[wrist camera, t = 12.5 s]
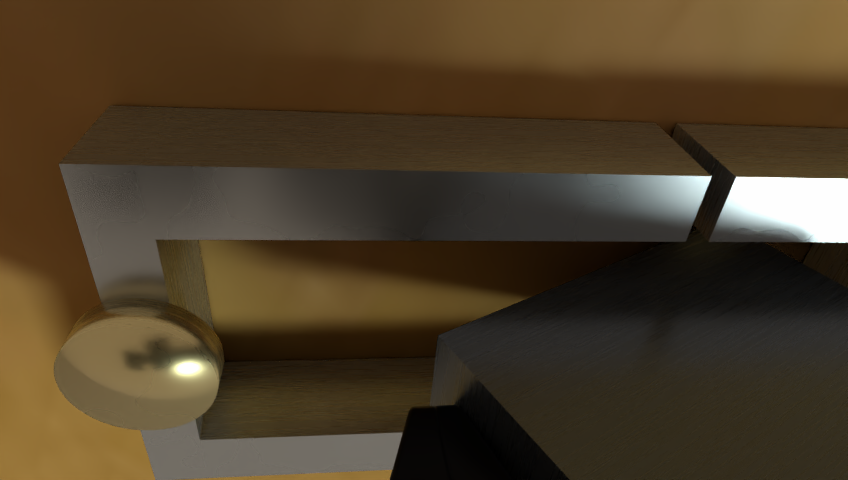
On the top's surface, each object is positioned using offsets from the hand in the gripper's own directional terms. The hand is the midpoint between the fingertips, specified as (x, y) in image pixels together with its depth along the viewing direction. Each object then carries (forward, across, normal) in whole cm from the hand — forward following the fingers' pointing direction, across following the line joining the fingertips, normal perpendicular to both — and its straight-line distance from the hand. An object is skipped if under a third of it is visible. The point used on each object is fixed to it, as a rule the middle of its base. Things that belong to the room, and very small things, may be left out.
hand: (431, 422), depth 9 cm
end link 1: (+4, 0, 0) cm, 4 cm away
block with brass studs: (+2, -3, 0) cm, 4 cm away
